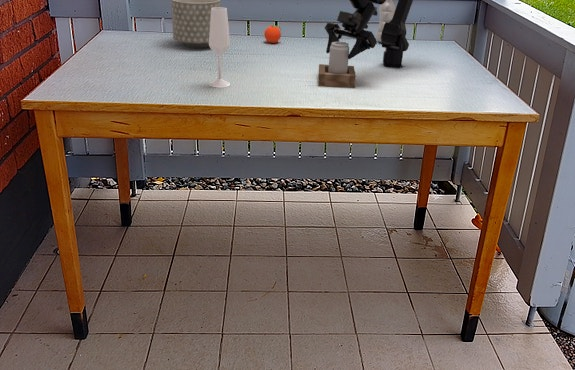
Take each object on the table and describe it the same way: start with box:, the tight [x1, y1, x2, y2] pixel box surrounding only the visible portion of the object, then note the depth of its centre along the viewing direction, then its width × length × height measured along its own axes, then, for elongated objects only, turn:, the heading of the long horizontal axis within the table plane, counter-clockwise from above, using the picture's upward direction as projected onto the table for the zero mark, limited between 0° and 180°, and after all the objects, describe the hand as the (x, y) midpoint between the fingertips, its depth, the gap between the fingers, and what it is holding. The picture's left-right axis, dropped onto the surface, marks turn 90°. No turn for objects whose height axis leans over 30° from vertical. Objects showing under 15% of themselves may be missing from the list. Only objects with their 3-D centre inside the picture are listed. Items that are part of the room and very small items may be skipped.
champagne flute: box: [208, 6, 231, 88], centre depth 181 cm, size 7×7×24 cm
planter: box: [170, 0, 222, 49], centre depth 227 cm, size 19×19×18 cm
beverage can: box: [328, 41, 350, 74], centre depth 191 cm, size 6×6×12 cm
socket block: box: [317, 63, 357, 89], centre depth 193 cm, size 12×12×4 cm
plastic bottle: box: [375, 0, 396, 43], centre depth 243 cm, size 6×7×20 cm
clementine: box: [264, 25, 282, 44], centre depth 239 cm, size 8×7×7 cm
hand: (337, 55), depth 190 cm, fingers open, 9 cm apart
